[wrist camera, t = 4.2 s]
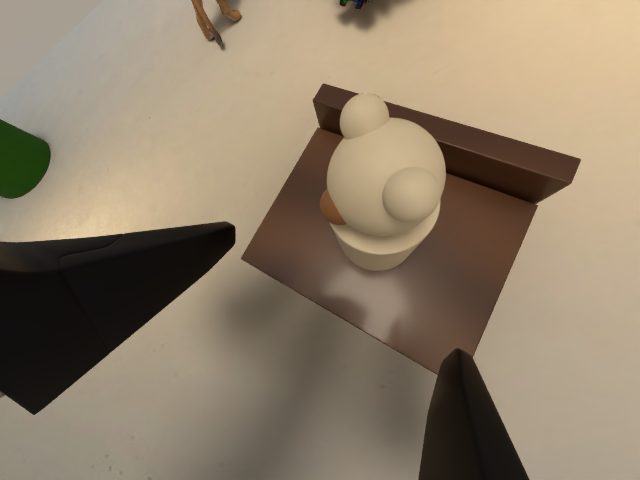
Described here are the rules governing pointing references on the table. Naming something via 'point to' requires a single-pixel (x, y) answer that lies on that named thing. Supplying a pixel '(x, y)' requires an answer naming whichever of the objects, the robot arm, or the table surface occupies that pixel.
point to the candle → (20, 160)
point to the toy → (359, 2)
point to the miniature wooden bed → (431, 254)
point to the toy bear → (382, 185)
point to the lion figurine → (204, 20)
